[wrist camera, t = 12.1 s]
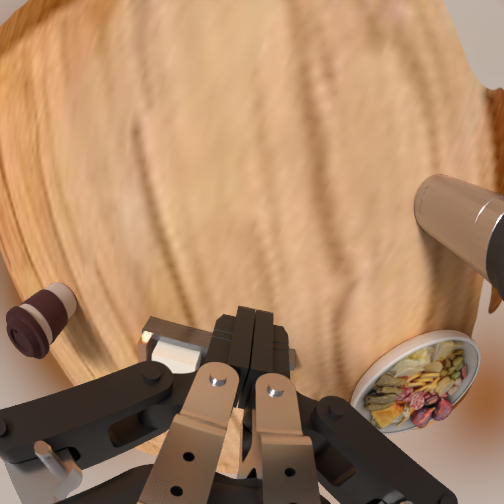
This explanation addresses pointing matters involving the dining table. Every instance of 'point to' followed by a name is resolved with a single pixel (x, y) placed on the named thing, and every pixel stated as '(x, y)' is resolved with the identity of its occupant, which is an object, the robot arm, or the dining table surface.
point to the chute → (179, 339)
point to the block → (177, 357)
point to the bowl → (417, 381)
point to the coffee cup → (40, 319)
